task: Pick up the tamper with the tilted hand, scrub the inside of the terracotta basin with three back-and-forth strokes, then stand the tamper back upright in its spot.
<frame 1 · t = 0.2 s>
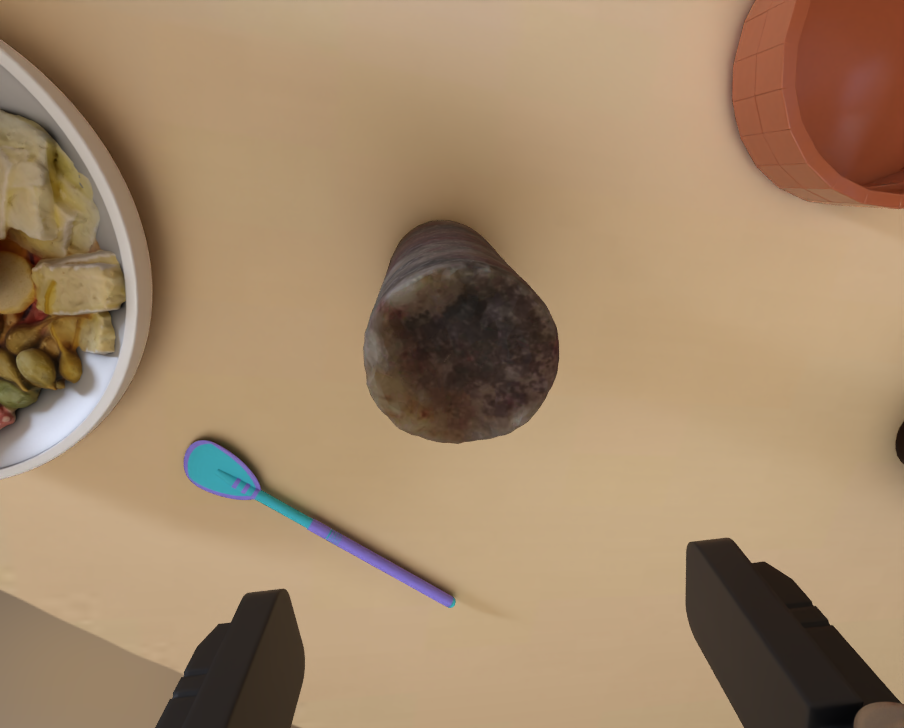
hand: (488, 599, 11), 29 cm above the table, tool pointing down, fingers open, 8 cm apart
spoon: (329, 526, 44), on the table
basin: (857, 66, 34), on the table
candle: (445, 273, 38), on the table
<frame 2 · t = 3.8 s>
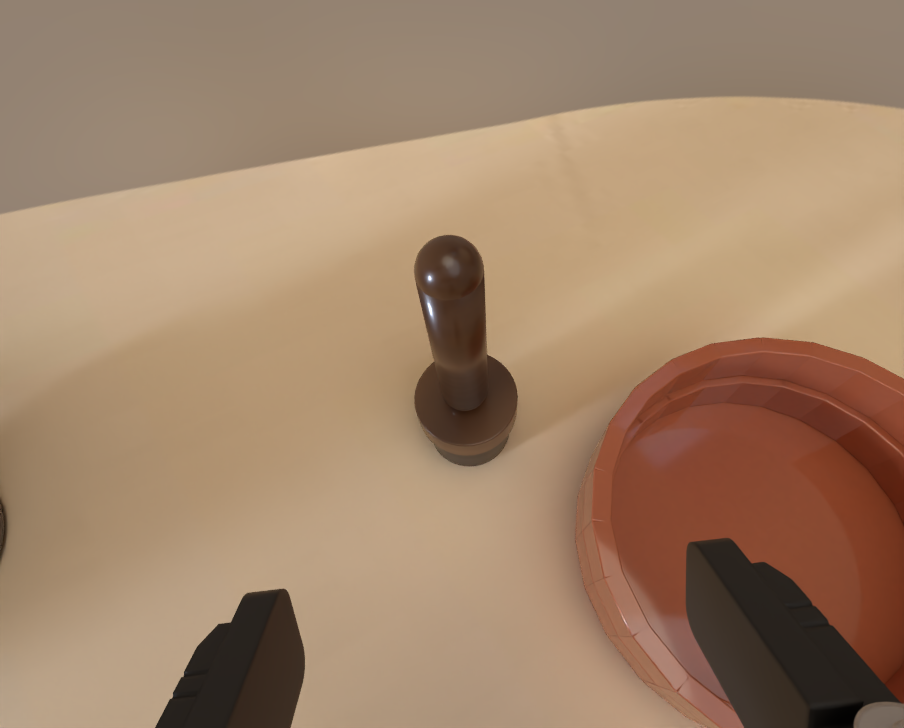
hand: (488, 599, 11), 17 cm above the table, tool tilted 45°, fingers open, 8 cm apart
basin: (745, 544, 27), on the table
tamper: (469, 427, 31), on the table
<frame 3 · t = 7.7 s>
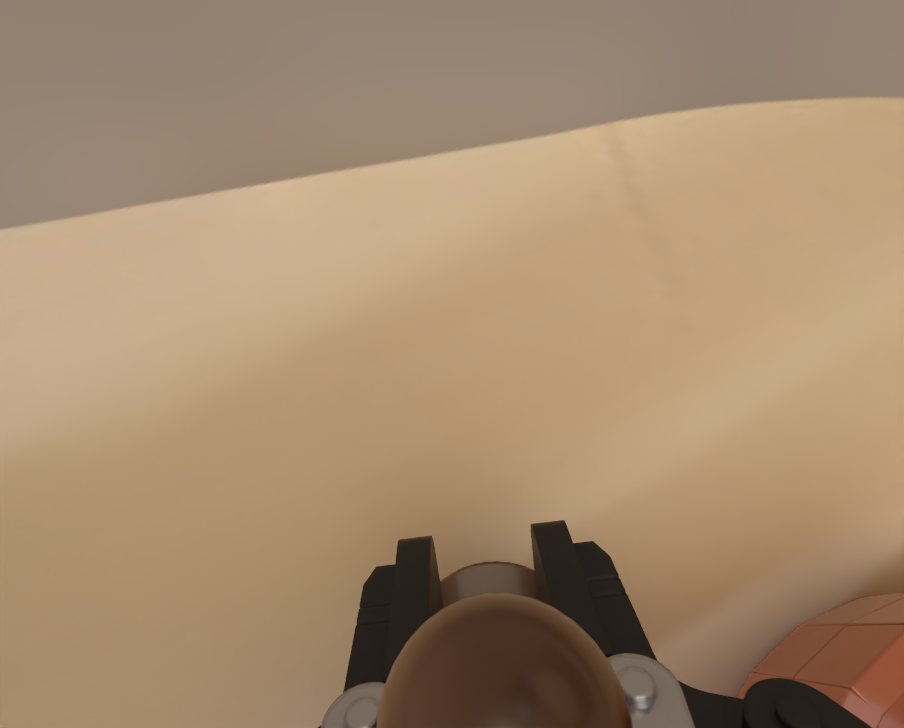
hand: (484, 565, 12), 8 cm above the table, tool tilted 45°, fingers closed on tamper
tamper: (497, 656, 18), on the table, touching gripper
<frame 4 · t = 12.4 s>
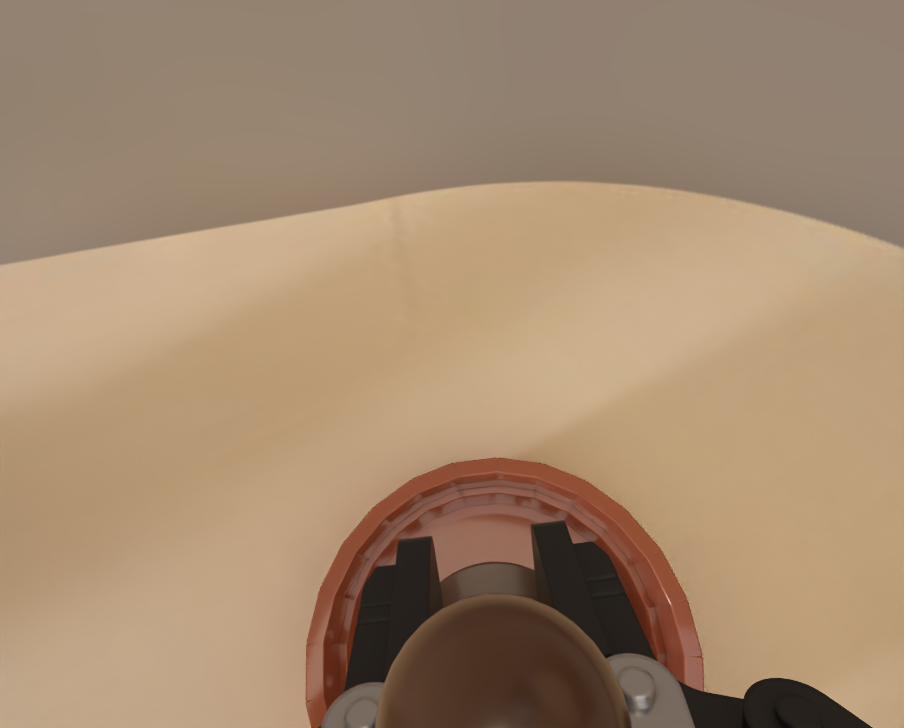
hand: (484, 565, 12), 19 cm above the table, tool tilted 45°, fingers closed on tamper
basin: (498, 645, 29), on the table
tamper: (498, 656, 18), point 12 cm above the table, touching gripper
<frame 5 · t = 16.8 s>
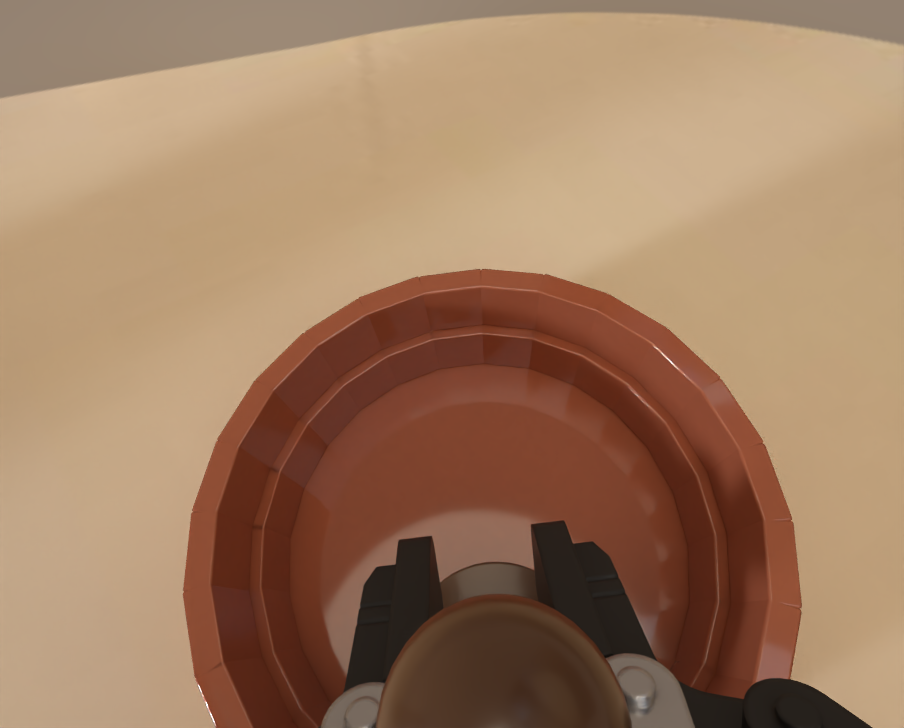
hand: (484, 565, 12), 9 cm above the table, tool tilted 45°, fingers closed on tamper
basin: (483, 545, 21), on the table
tamper: (498, 656, 18), point 1 cm above the table, touching gripper
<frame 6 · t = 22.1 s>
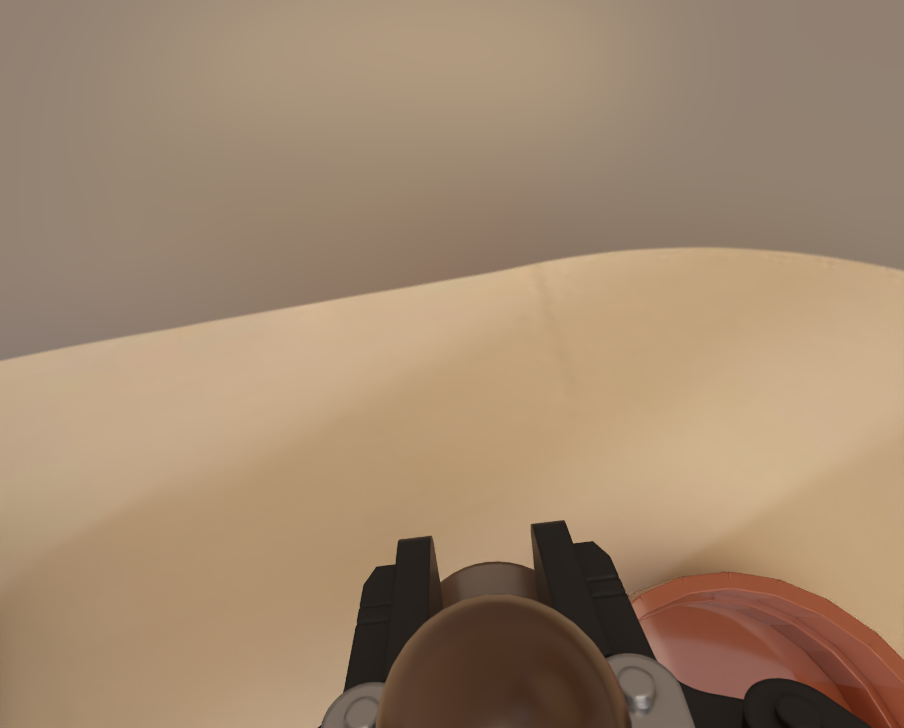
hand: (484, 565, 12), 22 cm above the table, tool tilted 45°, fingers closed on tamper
tamper: (498, 656, 18), point 14 cm above the table, touching gripper
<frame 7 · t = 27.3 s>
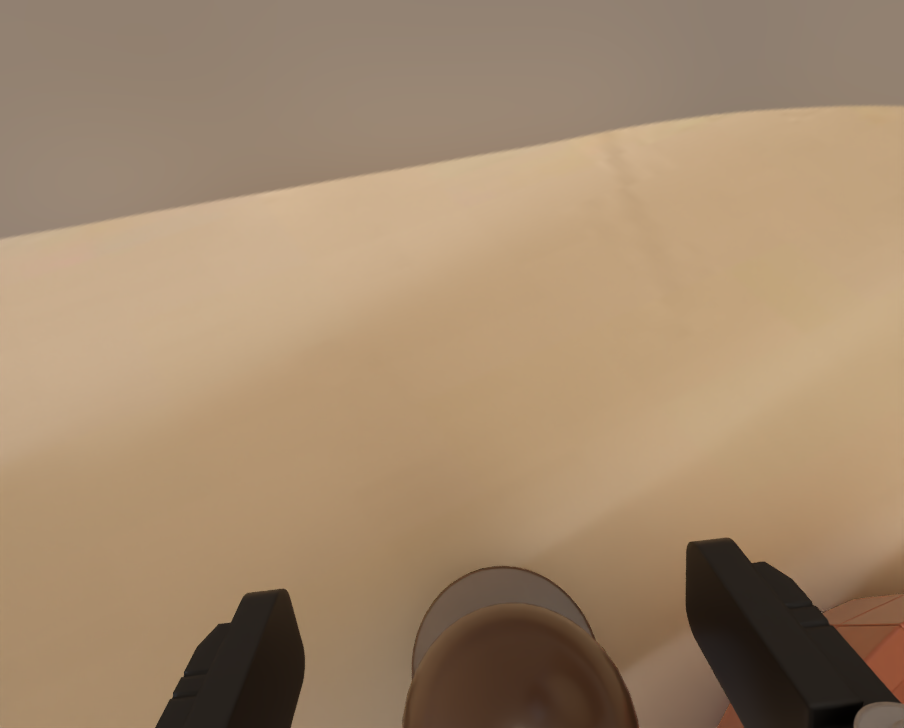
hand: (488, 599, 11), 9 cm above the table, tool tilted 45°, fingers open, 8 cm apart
tamper: (503, 658, 19), on the table
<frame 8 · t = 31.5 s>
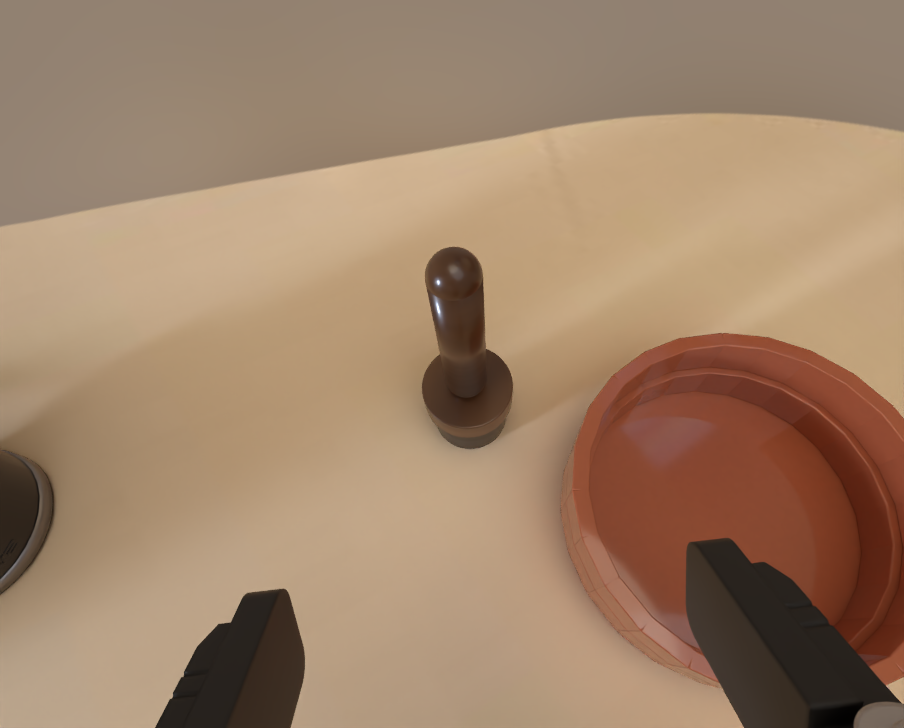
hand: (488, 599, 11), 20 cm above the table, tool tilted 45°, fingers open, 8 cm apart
basin: (710, 516, 30), on the table
tamper: (470, 414, 34), on the table
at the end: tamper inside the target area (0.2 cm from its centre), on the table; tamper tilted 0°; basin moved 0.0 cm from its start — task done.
